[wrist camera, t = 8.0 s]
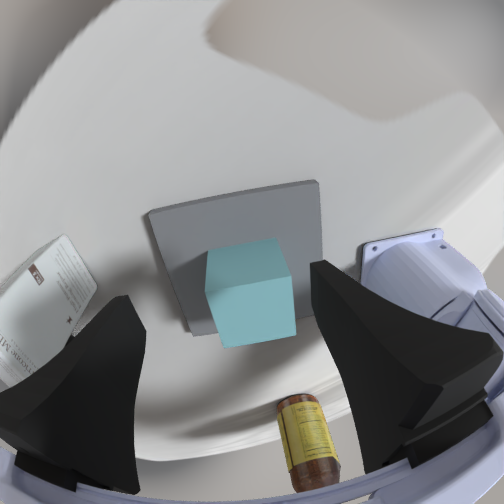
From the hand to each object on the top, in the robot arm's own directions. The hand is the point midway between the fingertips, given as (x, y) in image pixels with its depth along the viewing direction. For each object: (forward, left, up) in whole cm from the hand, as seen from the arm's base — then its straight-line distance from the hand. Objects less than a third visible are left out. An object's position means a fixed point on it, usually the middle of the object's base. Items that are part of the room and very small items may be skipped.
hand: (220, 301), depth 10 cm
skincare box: (+15, +2, -11) cm, 18 cm away
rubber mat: (-1, +5, -10) cm, 12 cm away
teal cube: (-1, +5, -9) cm, 11 cm away
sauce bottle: (-4, +29, -11) cm, 31 cm away
